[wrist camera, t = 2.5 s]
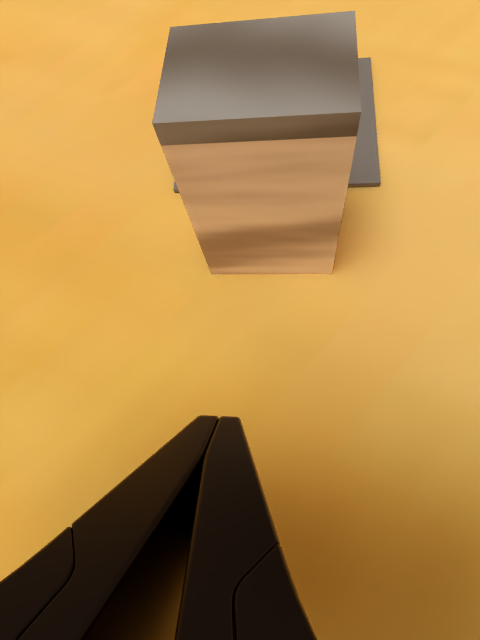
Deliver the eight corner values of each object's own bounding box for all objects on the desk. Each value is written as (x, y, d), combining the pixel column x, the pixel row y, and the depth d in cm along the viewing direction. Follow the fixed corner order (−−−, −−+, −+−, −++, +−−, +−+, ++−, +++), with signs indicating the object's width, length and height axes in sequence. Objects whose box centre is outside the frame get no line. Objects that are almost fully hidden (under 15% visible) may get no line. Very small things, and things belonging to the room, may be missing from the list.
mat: (379, 185, 25) (380, 182, 25) (174, 192, 27) (173, 189, 26) (369, 61, 29) (370, 57, 29) (192, 74, 31) (191, 70, 30)
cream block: (331, 273, 23) (361, 111, 13) (211, 274, 24) (152, 123, 14) (330, 202, 25) (354, 10, 15) (218, 204, 26) (170, 26, 16)
